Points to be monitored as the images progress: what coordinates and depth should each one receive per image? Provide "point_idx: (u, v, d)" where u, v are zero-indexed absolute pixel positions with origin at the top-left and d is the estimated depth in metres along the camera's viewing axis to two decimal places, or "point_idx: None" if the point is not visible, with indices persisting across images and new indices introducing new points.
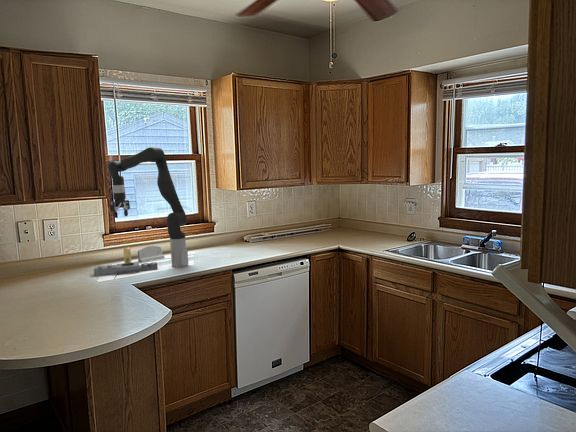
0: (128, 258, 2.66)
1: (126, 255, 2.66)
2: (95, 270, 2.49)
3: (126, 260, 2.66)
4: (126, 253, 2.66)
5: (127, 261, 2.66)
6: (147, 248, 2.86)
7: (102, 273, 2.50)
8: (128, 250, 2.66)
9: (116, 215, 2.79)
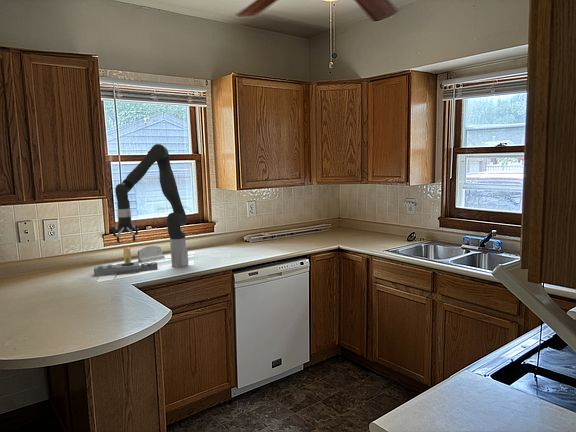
0: (128, 258, 2.66)
1: (126, 255, 2.66)
2: (95, 270, 2.49)
3: (126, 260, 2.66)
4: (126, 253, 2.66)
5: (127, 261, 2.66)
6: (147, 248, 2.86)
7: (102, 273, 2.50)
8: (128, 250, 2.66)
9: None
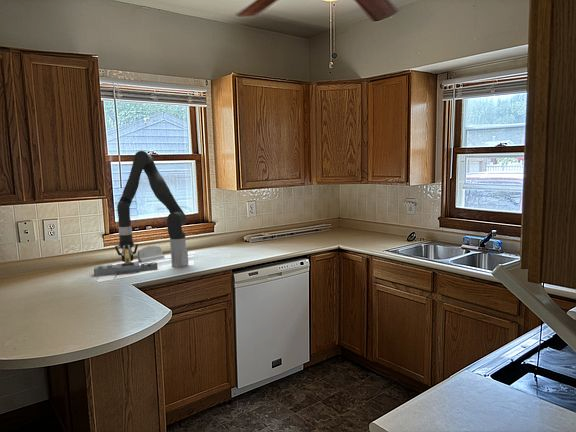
0: (128, 258, 2.66)
1: (126, 255, 2.66)
2: (95, 270, 2.49)
3: (126, 260, 2.66)
4: (126, 253, 2.66)
5: (127, 261, 2.66)
6: (147, 248, 2.86)
7: (102, 273, 2.50)
8: (128, 250, 2.66)
9: None
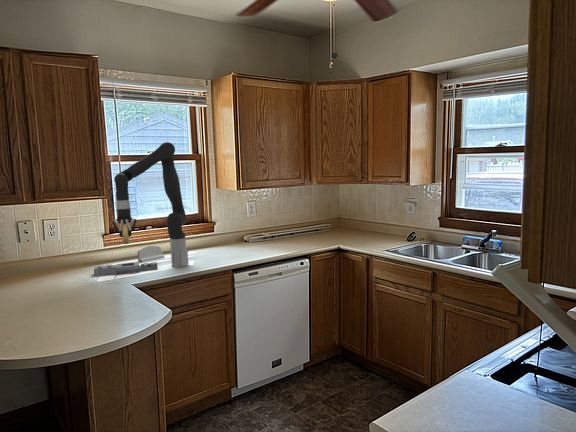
0: (126, 233, 2.54)
1: (124, 230, 2.53)
2: (95, 270, 2.49)
3: (124, 235, 2.54)
4: (124, 228, 2.53)
5: (125, 237, 2.54)
6: (147, 248, 2.87)
7: (102, 273, 2.50)
8: (126, 224, 2.54)
9: None
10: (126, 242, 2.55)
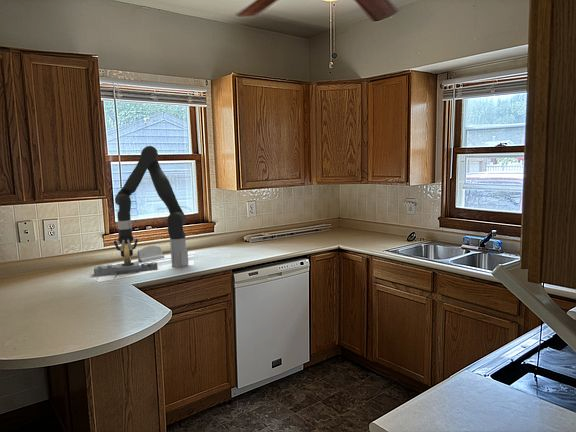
0: (127, 253, 2.56)
1: (125, 250, 2.55)
2: (95, 270, 2.49)
3: (125, 255, 2.56)
4: (125, 248, 2.55)
5: (126, 256, 2.56)
6: (147, 248, 2.87)
7: (102, 273, 2.50)
8: None
9: None
10: (127, 262, 2.56)
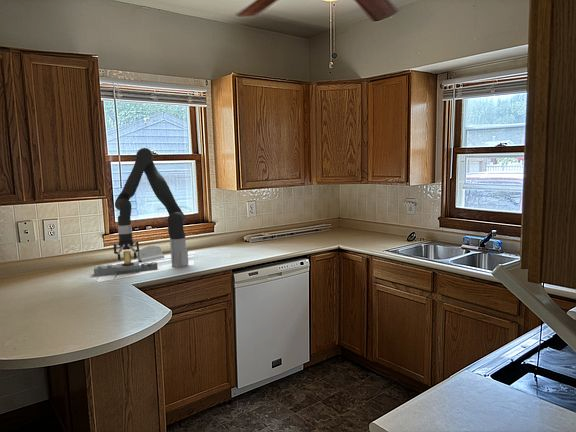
0: (128, 262, 2.56)
1: (126, 259, 2.56)
2: (95, 270, 2.49)
3: (126, 264, 2.56)
4: (126, 257, 2.55)
5: (127, 265, 2.56)
6: (147, 248, 2.87)
7: (102, 273, 2.50)
8: (129, 253, 2.56)
9: None
10: None
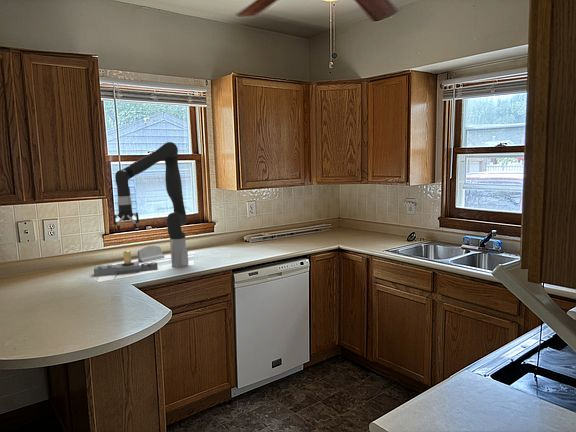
0: (128, 262, 2.56)
1: (126, 259, 2.56)
2: (95, 270, 2.49)
3: (126, 264, 2.56)
4: (126, 257, 2.55)
5: (127, 265, 2.56)
6: (147, 248, 2.87)
7: (102, 273, 2.50)
8: (129, 253, 2.56)
9: None
10: None
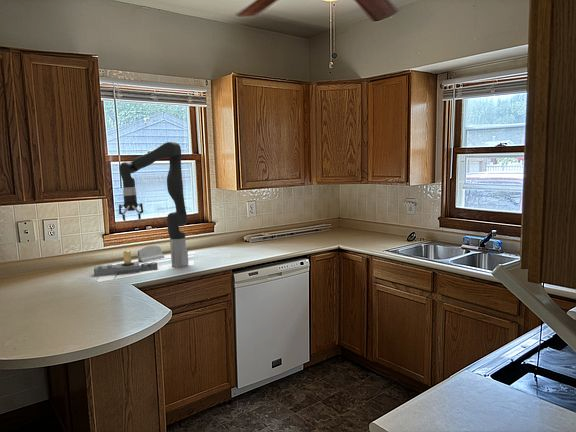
0: (128, 262, 2.56)
1: (126, 259, 2.56)
2: (95, 270, 2.49)
3: (126, 264, 2.56)
4: (126, 257, 2.55)
5: (127, 265, 2.56)
6: (147, 248, 2.87)
7: (102, 273, 2.50)
8: (129, 253, 2.56)
9: None
10: None
